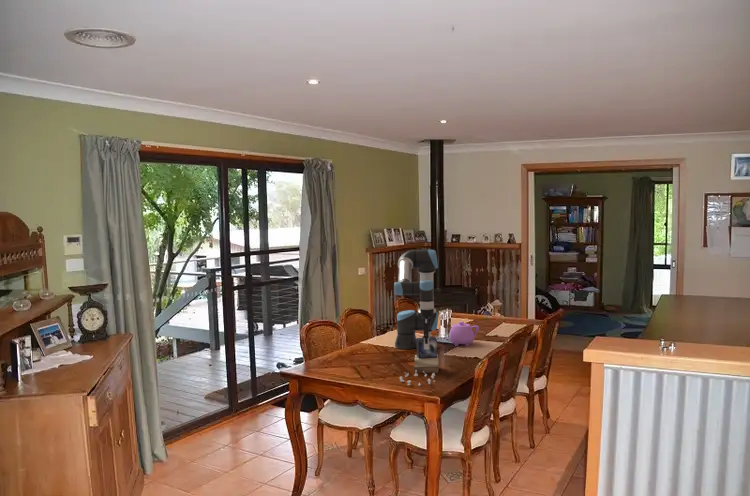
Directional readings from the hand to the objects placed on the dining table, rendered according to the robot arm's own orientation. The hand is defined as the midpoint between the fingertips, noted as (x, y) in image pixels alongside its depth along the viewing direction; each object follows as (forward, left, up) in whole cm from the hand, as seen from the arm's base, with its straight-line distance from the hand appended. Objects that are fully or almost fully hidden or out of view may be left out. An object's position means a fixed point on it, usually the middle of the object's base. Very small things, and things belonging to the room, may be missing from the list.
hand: (427, 346), depth 322 cm
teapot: (-65, +19, -14) cm, 69 cm away
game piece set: (+19, -4, -14) cm, 24 cm away
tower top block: (0, -1, -10) cm, 10 cm away
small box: (0, 0, -6) cm, 6 cm away
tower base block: (0, -1, -14) cm, 14 cm away
